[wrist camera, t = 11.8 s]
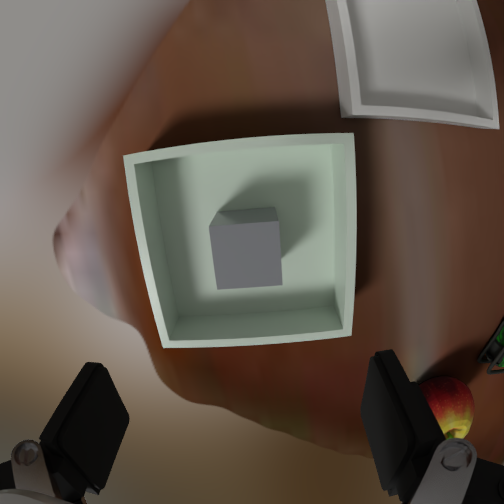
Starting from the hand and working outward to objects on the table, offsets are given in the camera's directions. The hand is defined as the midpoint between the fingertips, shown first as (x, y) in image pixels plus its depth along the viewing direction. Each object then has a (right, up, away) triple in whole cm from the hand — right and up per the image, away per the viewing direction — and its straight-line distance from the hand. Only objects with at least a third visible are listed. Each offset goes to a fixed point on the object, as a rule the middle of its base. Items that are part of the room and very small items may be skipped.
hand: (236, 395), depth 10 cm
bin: (0, +6, +19) cm, 20 cm away
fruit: (+25, -15, +26) cm, 39 cm away
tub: (+16, +25, +12) cm, 31 cm away
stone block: (0, +6, +18) cm, 19 cm away
